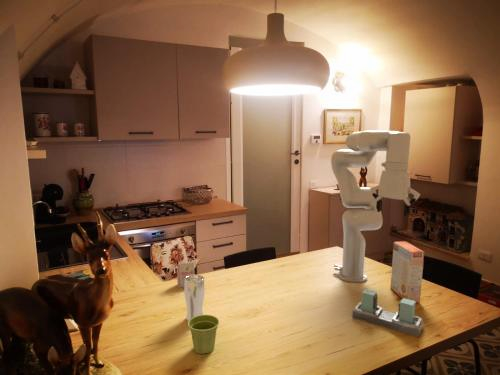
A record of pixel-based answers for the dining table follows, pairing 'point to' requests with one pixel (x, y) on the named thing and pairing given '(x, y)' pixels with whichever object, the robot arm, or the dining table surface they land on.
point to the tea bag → (184, 272)
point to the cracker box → (407, 271)
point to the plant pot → (203, 332)
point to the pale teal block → (406, 310)
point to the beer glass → (194, 295)
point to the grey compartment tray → (388, 320)
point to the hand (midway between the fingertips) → (392, 213)
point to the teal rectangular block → (369, 300)
